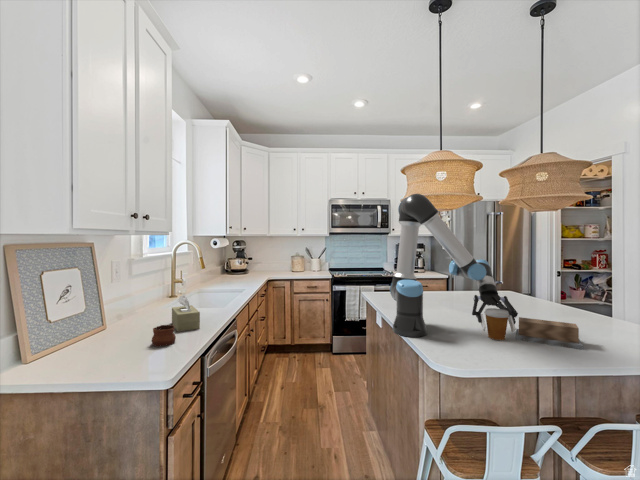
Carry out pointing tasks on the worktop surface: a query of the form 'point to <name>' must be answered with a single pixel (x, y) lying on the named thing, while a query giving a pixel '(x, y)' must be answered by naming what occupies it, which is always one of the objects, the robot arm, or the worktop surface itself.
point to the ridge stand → (549, 332)
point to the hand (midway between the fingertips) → (499, 329)
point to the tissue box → (185, 316)
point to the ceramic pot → (163, 335)
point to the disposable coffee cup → (496, 323)
